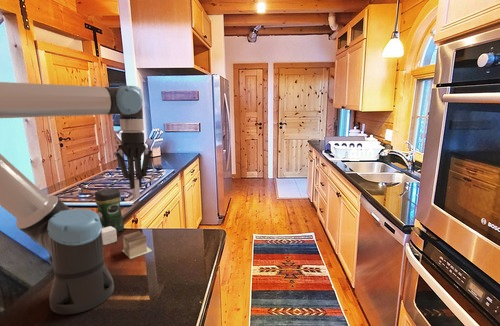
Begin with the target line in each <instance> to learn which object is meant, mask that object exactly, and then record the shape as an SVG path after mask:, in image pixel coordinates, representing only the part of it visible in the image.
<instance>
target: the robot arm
mask: <svg viewBox="0 0 500 326" xmlns="http://www.w3.org/2000/svg"><path fill="white" fill-rule="evenodd" d="M143 107H144V106H143V94H142V89H141V88H140V86H137V85H119V86H118V87H117V86H116V87H115V86H113V87H112V86H111V87H110V86H95V85H93V86H92V85H71V84H67V85H66V84H54V83H53V84H52V83H49V84H47V83H27V82H26V83H25V82H11V81H10V82H9V81H8V82H6V81H0V119H19V118H43V117H44V118H45V117H46V118H47V117H48V118H49V117H72V116H74V117H75V116H76V117H78V116H102V115H103V116H104V115H107V116H109V115H110V116H111V115H118V116H119V124H120V131H121V133H120V140H121V146H120V149H119V150H118V151H117V152H116V151H115V152H114V153H113V155H114V156H115V158H116V159H117V162H118V165H119V168H120V170H121V173H122V176H123V178H124V179H126V180H128V181H129V188H130V189H132V196H133V198H135V199H136V198H140V197H141V192H140V188H142V183H143V182H142V180H143V179H144V178H145V177H147V176H148V175H147V174H148V168H149V164H150V158H151V155H152V154H153V151H152V150H151V149H148V148H147V146H146V144H145V133H144V132H143V131H144V130H145V126H144V111H143ZM123 156H125V157H126V161H127V165H126V162H125V159H124V158H123ZM142 156H143V159H142ZM135 177H136V178H135ZM0 207H1V208H3V209H4V210H6V212H8V213H9V214H10V215H12V216H13V217H14V218H16V222H15V226H16V228H17V229H19V230H20V231H21V232H23V233H24V234H25V235H27V236H28V237H29V238H30V239H31V240H32V241H33V242H35V243H36V244H38V245H39V246H41V247H43V248H44V249H45V250H46V251H47V252H48V253H50V254H51V260H52V267H53V273H54V277H53V281H52V284H51V285H52V286H51V289H50V294H49V298H48V301H49V307H50V310H51V311H52V312H53V313H55V314H59V315H75V314H79V313H83V312H87V311H89V310H91V309H94V308H96V307H98V306H100V305H101V304H103V303H104V302H106V301H107V300H108V298H110V297H111V296H112V295H113V293H114V290H115V285H114V284H115V283H114V279H113V276H112V275H111V273H110V271H109V269H108V267H107V265H106V263H105V254H104V245H103V241H102V225H101V222H100V217H99V215H98V212H96V211H94V210H92V209H89V208H88V209H87V208H84V209H82V208H70V207H69V206H68V205H66V203H64V201H62V200H61V199H60V198H59V197H58V196H57V195H47V194H46V193H44V191H42V190H41V189H40V188H39V187H38V186H36V185H35V184H34V183H33V182H32V181H31V180H30V179H29V178H28V177H27V176H26V175H24V174H23V172H21V171H20V170H19V169H18V168H16V167H15V165H14V164H13V163H11V162H10V161H9V160H8V159H7V158H5V156H4V155H2V154H1V153H0Z"/></svg>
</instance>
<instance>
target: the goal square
mask: <svg viewBox="0 0 500 326" xmlns="http://www.w3.org/2000/svg"><path fill="white" fill-rule="evenodd" d="M121 251H122V253H124V254H125V255H126V256H127V257H128V258H129V259H130V260H131V259H132V260H133V259H134V258H136V257H139V256H140V257H141V256H144V255H145V254H149V253H151V252H153V250H152V248H150V247H148V246H147V252H144V253H141V254H138V255H135V256H132V257H130V256H129V255H128V254H127V253H125V252H124V249H123V250H121Z"/></svg>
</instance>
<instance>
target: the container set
mask: <svg viewBox="0 0 500 326" xmlns="http://www.w3.org/2000/svg"><path fill="white" fill-rule="evenodd" d="M117 233H118V232H116V229H115V228H113V227H112V226H109V227H105V228H102V241H103V246H107V245H109V244H112V243H115V242H117V241H118V237H117V235H118V234H117Z"/></svg>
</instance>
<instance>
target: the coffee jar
mask: <svg viewBox="0 0 500 326" xmlns="http://www.w3.org/2000/svg"><path fill="white" fill-rule="evenodd" d="M121 199H122V195H121V191H120V189H118V188H116V187H111V188H106V189H102V190H97V191H95V193H94V203H95V204H96V206H97V214H98V215H99V217H100V222H101V225H102V228H105V227H109V226H112V227H113V228H115V229H116V233H118V232H121V231H123V230H124V229H125V224H124V219H123V215H122V210H121Z"/></svg>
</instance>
